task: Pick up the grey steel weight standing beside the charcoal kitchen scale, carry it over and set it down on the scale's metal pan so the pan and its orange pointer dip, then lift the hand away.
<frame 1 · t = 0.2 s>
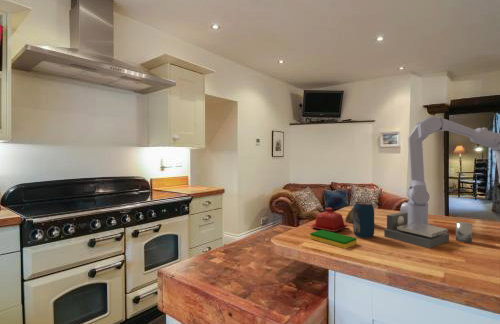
dish sponge: (332, 243, 95), on the counter
butter dish: (329, 229, 111), on the counter
soda can: (363, 236, 100), on the counter
steel weight: (463, 241, 94), on the counter
scale pan: (419, 228, 95), point 4 cm above the counter, slide at 0.5 cm
scale: (415, 238, 97), on the counter
rock: (358, 223, 119), on the counter
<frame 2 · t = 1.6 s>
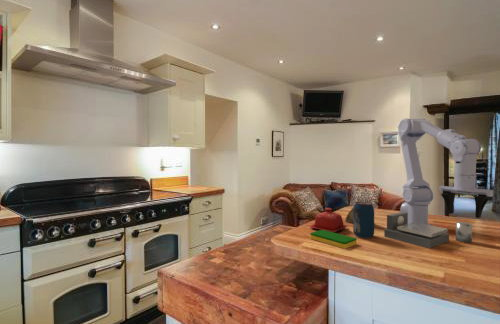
hand: (464, 215, 94), 9 cm above the counter, tool pointing down, fingers open, 7 cm apart
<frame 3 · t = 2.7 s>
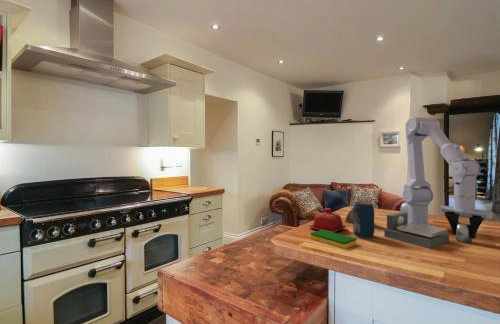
hand: (463, 236, 94), 2 cm above the counter, tool pointing down, fingers closed on steel weight, 4 cm apart
steel weight: (463, 240, 94), on the counter, touching gripper
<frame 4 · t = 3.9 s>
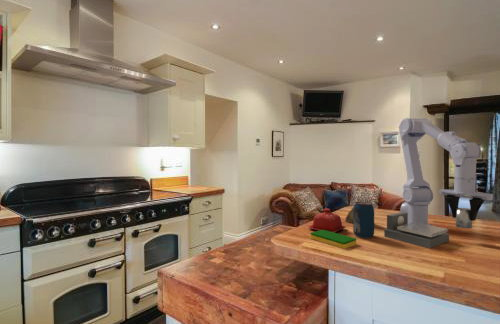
hand: (463, 218, 94), 7 cm above the counter, tool pointing down, fingers closed on steel weight, 4 cm apart
steel weight: (463, 226, 94), point 5 cm above the counter, touching gripper
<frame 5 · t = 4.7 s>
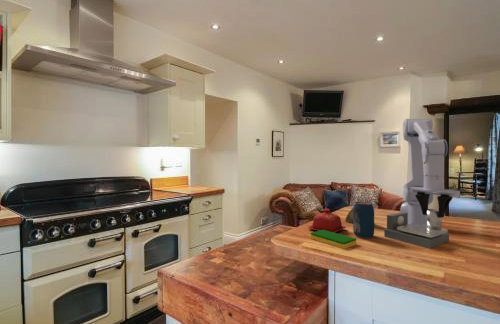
hand: (433, 215, 94), 8 cm above the counter, tool pointing down, fingers closed on steel weight, 4 cm apart
steel weight: (433, 227, 95), point 4 cm above the counter, touching gripper
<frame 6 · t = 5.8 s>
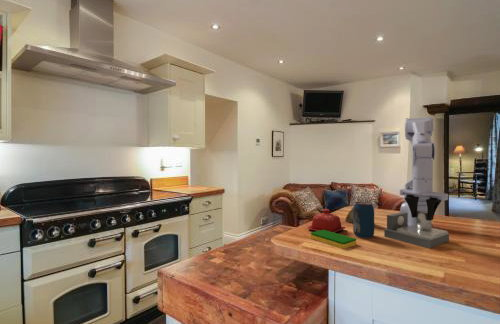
hand: (422, 218, 95), 7 cm above the counter, tool pointing down, fingers closed on steel weight, 4 cm apart
steel weight: (424, 229, 95), point 4 cm above the counter, touching gripper, scale pan
scale pan: (419, 230, 95), point 3 cm above the counter, slide at 1.3 cm, touching steel weight
when the fingers open (7 cm above the counter, at t = 5.8 s): steel weight stays where it is, resting on scale pan.
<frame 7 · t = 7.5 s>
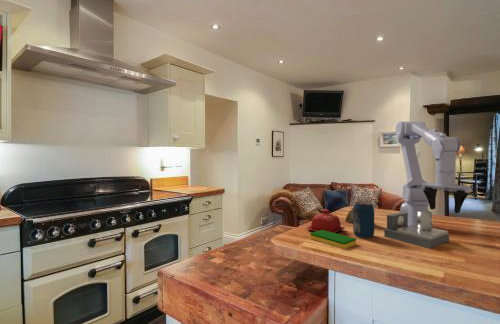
hand: (444, 210, 97), 10 cm above the counter, tool pointing down, fingers open, 7 cm apart
steel weight: (424, 229, 95), point 4 cm above the counter, touching scale pan
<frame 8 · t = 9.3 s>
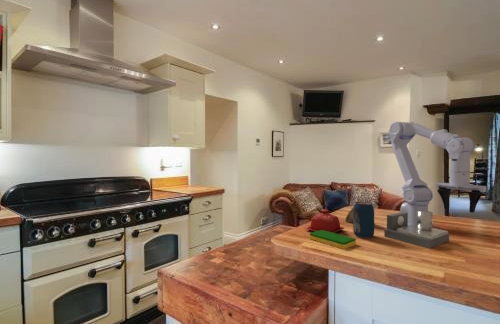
hand: (459, 210, 98), 9 cm above the counter, tool pointing down, fingers open, 7 cm apart
at the end: steel weight inside the target area on the scale (1.1 cm from its centre), point 3.7 cm above the scale's base; steel weight touching scale pan; steel weight tilted 2° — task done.
